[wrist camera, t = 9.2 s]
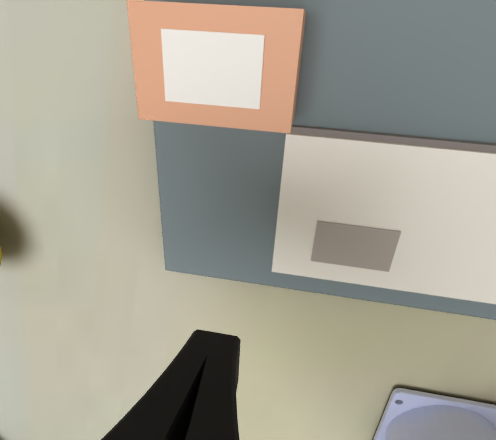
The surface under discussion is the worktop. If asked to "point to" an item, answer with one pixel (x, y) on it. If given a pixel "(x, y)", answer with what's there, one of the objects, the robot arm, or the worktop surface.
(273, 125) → the stub
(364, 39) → the mat
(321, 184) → the ticket
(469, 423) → the robot arm
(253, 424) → the worktop surface
